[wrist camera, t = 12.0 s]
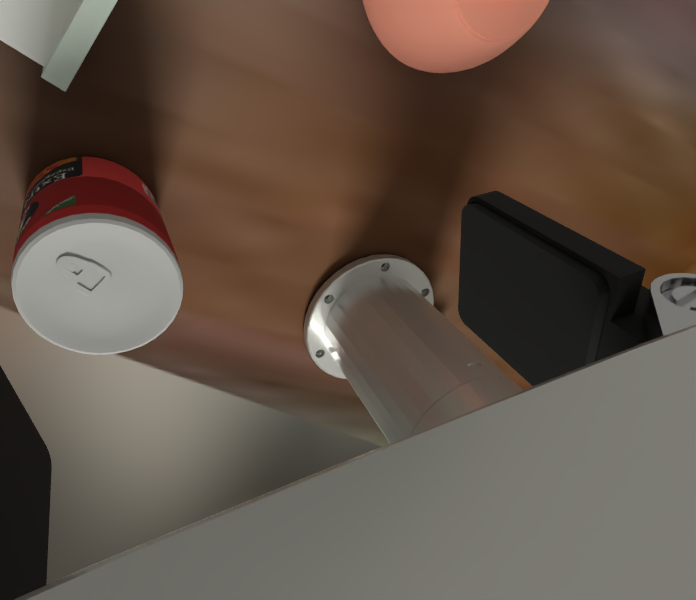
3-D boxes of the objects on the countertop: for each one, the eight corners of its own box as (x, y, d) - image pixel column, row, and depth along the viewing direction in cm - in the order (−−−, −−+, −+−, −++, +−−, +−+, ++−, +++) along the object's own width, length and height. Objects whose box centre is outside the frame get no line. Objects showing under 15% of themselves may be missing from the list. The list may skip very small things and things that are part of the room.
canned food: (53, 128, 32) (48, 189, 24) (178, 188, 37) (211, 257, 28) (3, 237, 34) (-19, 330, 25) (128, 280, 39) (146, 372, 30)
